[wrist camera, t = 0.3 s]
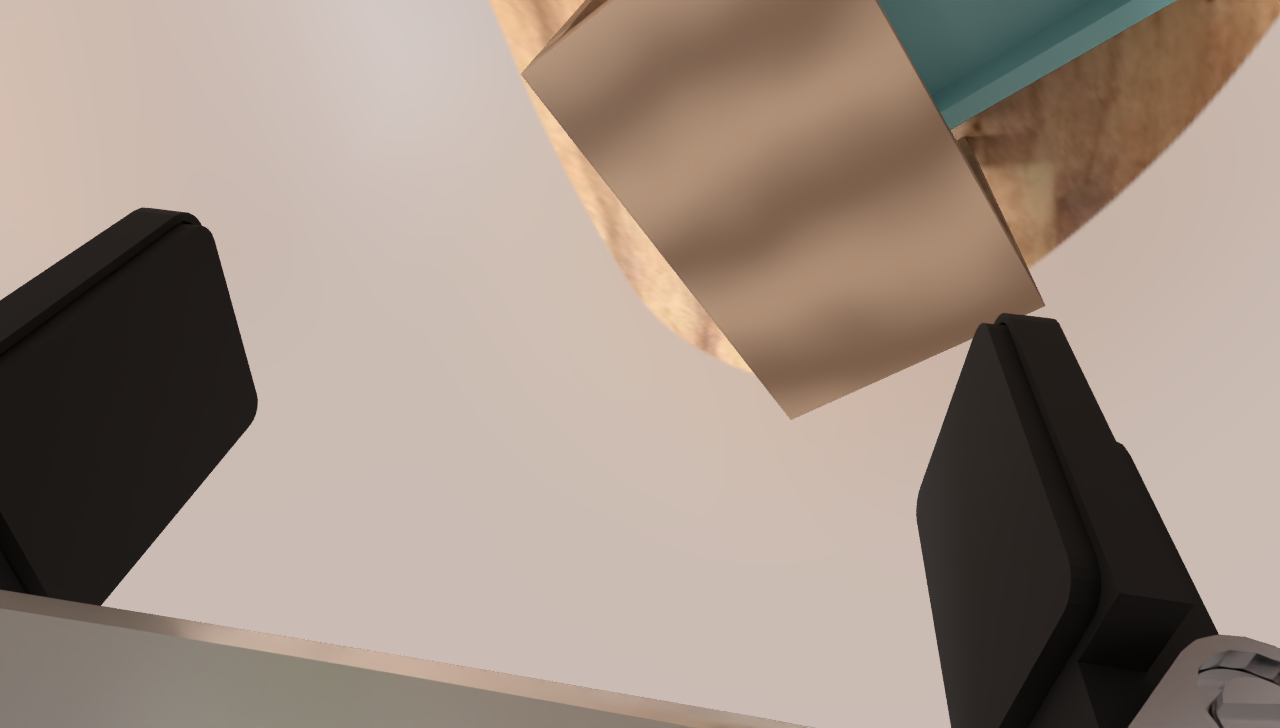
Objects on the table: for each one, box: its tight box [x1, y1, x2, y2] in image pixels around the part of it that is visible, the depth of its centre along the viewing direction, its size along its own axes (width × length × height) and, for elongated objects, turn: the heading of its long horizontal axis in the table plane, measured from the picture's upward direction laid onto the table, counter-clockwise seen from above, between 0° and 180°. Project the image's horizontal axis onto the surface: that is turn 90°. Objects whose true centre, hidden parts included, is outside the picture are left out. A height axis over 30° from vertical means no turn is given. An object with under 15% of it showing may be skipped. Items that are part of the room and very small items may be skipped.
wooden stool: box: [521, 0, 1045, 420], centre depth 36 cm, size 18×11×15 cm, turn 37°
